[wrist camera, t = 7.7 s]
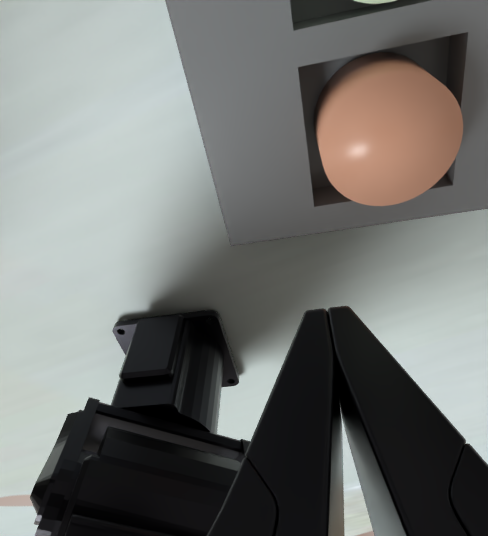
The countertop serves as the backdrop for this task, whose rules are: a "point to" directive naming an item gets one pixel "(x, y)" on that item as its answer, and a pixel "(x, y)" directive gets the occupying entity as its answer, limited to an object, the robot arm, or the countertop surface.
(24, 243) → the countertop surface
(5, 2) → the countertop surface
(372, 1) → the sage button
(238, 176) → the panel
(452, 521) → the robot arm
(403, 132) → the terracotta button
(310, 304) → the countertop surface
